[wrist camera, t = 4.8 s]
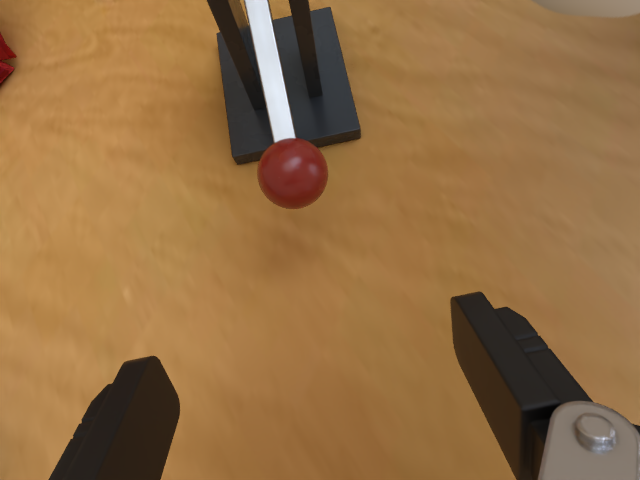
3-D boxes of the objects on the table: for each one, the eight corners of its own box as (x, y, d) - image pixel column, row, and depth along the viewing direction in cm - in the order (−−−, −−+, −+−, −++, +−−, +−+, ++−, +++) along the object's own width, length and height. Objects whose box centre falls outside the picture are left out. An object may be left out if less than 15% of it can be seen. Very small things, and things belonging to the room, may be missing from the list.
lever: (334, 202, 21) (334, 199, 18) (271, 215, 21) (259, 214, 18) (274, -88, 21) (262, -148, 17) (210, -72, 21) (186, -129, 18)
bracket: (360, 138, 29) (357, -53, 16) (237, 165, 29) (133, 0, 16) (331, 18, 32) (308, -220, 19) (221, 44, 33) (124, -173, 19)
